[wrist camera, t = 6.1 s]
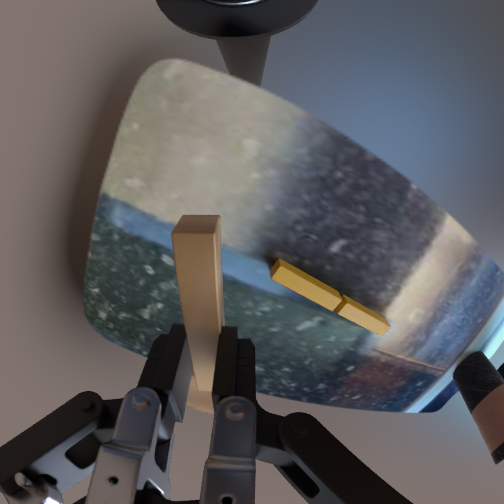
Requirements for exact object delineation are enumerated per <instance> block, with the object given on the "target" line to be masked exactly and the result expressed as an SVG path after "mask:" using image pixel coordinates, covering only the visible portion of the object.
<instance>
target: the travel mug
mask: <svg viewBox="0 0 504 504" xmlns="http://www.w3.org/2000/svg"><path fill="white" fill-rule="evenodd" d="M453 379H454V381H455V383H456V385H457V387H458V389H459V391H460V393H461V395H462V397H463V399H464V401H465V403H466V405H467V407H468V409H469V411H470V413H471V415H472V417H473V419H474V421H475V423H476V425H477V427H478V429H479V431H480V433H481V434H482V437H483V439H484V441H485V443H486V445H487V447H488V449H489V451H490V454H491V456H492V458H493V460H494V463H495V464H498V463H499V462H501V461H502V460H503V459H504V380H503V378H502V377H501V375H500V374H499V373H498V371H497V370H496V369H495V367H494V366H493V365H492V363H491V362H490V361H489V359H488V358H487V357H486V356H485V355H484V353H483V352H481V351H478V352H475V353H473V354H471V355H470V356H469V357H467V358H466V359H465V360H464V361H463V362H462V363H461V364H460V365H459V366H458V368H457V369H456V370H455V372H454V374H453Z"/></svg>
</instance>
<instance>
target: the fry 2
mask: <svg viewBox="0 0 504 504" xmlns="http://www.w3.org/2000/svg"><path fill="white" fill-rule="evenodd" d="M341 298H342V301H341V302H340V303H339V304H338V305H337V307H336V308H335V309H336V311H337V314H339V315H341V316H343V317H345V318H347V319H349V320H351V321H353V322H354V323H356V324H358V325H360V326H362V327H364V328H366V329H368V330H370V331H372V332H374V333H376V334H378V335H380V336H383V335H384V334H385V333H386V332H387V331H388V330H389V329H390V328H391V326H390V325H389V323H388V321H387V320H386V319H385V318H384V317H382V316H380V315H378V314H377V313H375V312H373V311H371V310H370V309H368V308H366V307H365V306H363V305H361V304H359V303H358V302H356V301H354V300H352V299H351V298H349V297H347V296H345V295H344V294H343V295H342V296H341Z"/></svg>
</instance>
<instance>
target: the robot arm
mask: <svg viewBox="0 0 504 504" xmlns="http://www.w3.org/2000/svg"><path fill="white" fill-rule="evenodd" d="M202 1H204V2H206V3H209V4H212V5H215V6H220V7H228V8H239V7H248V6H253V5H257V4H260V3H263V2H266V1H268V0H202ZM192 371H193V363H192V358H191V353H190V348H189V343H188V337H187V333H186V332H185V326H184V324H178V323H173V325H172V327H171V330H170V333H169V335H168V334H161V335H160V336H159V337H158V338H157V339H156V340H155V341H154V342H153V345H152V347H151V350H150V352H149V355H148V359H147V361H146V363H145V366H144V369H143V372H142V374H141V377H140V380H139V382H138V385H137V387H136V388H134V389H132V390H130V391H129V392H128V393H127V394H126V395H125V397H124V398H121V399H112V400H103V399H102V398H101V397H100V396H99V395H98V394H97V393H95V392H92V391H85V392H82V393H79V394H78V395H76V396H75V397H73V398H72V399H70V400H69V401H68V402H66V403H65V404H63V405H62V406H60V407H59V408H58V409H56V410H55V411H53V412H52V413H50V414H49V415H47V416H46V417H44V418H43V419H41V420H40V421H38V422H37V423H36V424H34V425H33V426H31V427H30V428H28V429H27V430H25V431H24V432H22V433H21V434H19V435H18V436H16V437H15V438H13V439H12V440H10V441H9V442H7V443H6V444H4V445H3V446H1V447H0V492H1V493H3V495H4V496H5V498H6V500H7V502H8V503H9V504H64V501H63V499H62V496H61V495H62V494H63V493H64V492H66V491H67V490H69V489H70V488H71V487H73V486H74V485H75V484H77V483H78V482H80V481H81V480H82V479H84V478H85V477H86V476H88V475H89V474H90V473H92V472H93V473H92V477H91V481H90V485H89V489H88V493H87V495H86V496H85V497H83V498H81V499H80V500H78V501H76V502H75V503H73V504H255V474H256V463H255V459H256V460H260V461H263V462H267V463H271V464H273V465H274V466H275V467H276V468H277V470H278V471H279V472H280V473H281V474H282V475H283V476H284V477H285V479H286V480H287V481H288V482H289V483H290V484H291V485H292V486H293V487H294V489H296V491H297V492H298V493H299V494H300V495H301V496H302V497H303V498H304V499H305V500H306V501H307V502H308V503H309V504H413V503H412V502H410V501H409V500H407V499H406V498H405V497H404V496H402V495H401V494H400V493H399V492H397V491H396V490H395V489H394V488H392V487H391V486H390V485H389V484H388V483H386V482H385V481H384V480H383V479H381V478H380V477H379V476H378V475H377V474H375V473H374V472H373V471H372V470H371V469H370V468H369V467H367V466H366V465H365V464H364V463H363V462H362V461H361V460H359V459H358V458H357V457H356V456H355V455H354V454H353V453H352V452H351V451H349V450H348V449H347V448H346V447H345V446H344V445H343V444H342V443H341V442H340V441H339V440H338V439H336V438H335V437H334V436H333V435H332V434H331V433H330V432H329V431H328V430H327V429H326V428H325V427H324V426H323V425H322V424H321V423H320V422H318V420H317V419H316V418H314V417H313V416H311V415H310V414H307V413H302V412H296V413H291V414H289V415H287V416H285V417H284V416H279V415H276V414H272V413H269V412H267V411H265V410H264V409H262V408H261V407H260V405H259V404H258V402H257V400H256V382H255V347H254V345H253V343H252V342H251V340H250V339H238V326H222V329H221V334H219V339H218V347H217V354H216V362H215V369H214V377H213V385H212V393H211V395H212V401H213V408H214V421H213V428H212V435H211V443H210V451H209V456H208V459H207V460H206V462H205V466H204V471H203V479H202V486H201V494H200V500H190V501H171V500H169V499H170V489H171V488H170V479H169V469H170V462H171V455H172V448H173V441H174V432H173V429H174V424H175V422H183V417H184V412H185V407H186V402H187V396H188V391H189V386H190V381H191V376H192Z"/></svg>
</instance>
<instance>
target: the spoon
mask: <svg viewBox="0 0 504 504" xmlns="http://www.w3.org/2000/svg"><path fill="white" fill-rule="evenodd" d="M171 234H172V243H173V252H174V260H175V268H176V275H177V282H178V289H179V296H180V302H181V308H182V315H183V320H184V326H185V332H186V333H187V337H188V343H189V348H190V353H191V358H192V363H193V371H192V376H191V381H190V386H189V391H188V396H187V402H186V405H188V406H190V407H192V408H194V409H196V410H199V411H203V412H207V413H213V414H214V408H213V401H212V395H211V393H212V385H213V377H214V369H215V362H216V354H217V347H218V339H219V334H221V329H222V326H225V323H224V304H223V281H222V253H221V217H220V215H183V216H182V217H181V218H180V220H179V222H178V223H177V225H176V226H175V228H174V229H173V231H172V233H171Z"/></svg>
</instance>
